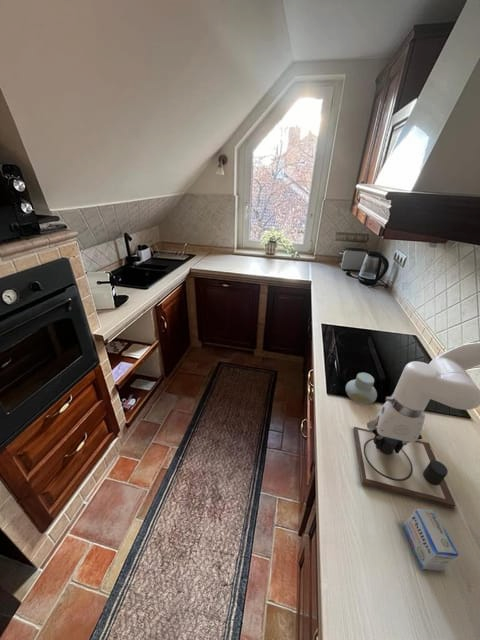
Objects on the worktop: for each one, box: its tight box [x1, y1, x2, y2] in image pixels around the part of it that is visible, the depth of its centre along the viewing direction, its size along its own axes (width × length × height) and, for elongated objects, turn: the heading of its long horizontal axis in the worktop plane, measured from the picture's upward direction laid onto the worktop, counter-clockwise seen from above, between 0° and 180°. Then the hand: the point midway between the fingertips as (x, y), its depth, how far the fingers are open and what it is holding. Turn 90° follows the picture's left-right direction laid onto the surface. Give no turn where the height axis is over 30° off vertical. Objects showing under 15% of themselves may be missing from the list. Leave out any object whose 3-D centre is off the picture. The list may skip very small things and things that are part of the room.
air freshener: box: [345, 372, 378, 405], centre depth 95 cm, size 11×8×10 cm
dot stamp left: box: [379, 437, 398, 455], centre depth 76 cm, size 4×4×5 cm
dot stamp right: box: [423, 459, 449, 485], centre depth 68 cm, size 4×4×5 cm
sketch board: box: [352, 426, 457, 509], centre depth 74 cm, size 22×18×2 cm
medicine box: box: [402, 508, 460, 571], centre depth 55 cm, size 8×4×9 cm, turn 178°
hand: (386, 446), depth 76 cm, fingers open, 4 cm apart
